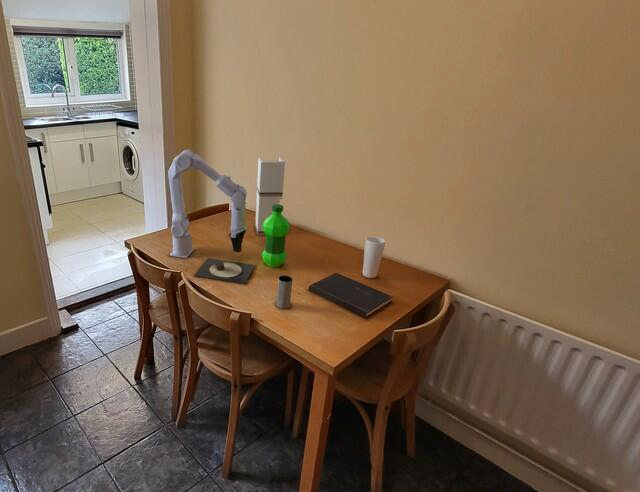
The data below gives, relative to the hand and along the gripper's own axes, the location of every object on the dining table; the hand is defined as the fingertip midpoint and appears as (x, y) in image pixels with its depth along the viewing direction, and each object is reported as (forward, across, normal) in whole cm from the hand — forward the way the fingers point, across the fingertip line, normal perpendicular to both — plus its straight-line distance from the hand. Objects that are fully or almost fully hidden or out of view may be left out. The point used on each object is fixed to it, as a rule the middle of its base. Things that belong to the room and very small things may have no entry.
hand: (237, 247), depth 173 cm
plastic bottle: (+5, -2, -16) cm, 17 cm away
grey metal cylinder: (+5, -32, -25) cm, 41 cm away
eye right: (+1, 0, 0) cm, 1 cm away
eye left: (+4, -14, +3) cm, 15 cm away
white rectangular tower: (+5, +34, -6) cm, 35 cm away
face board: (+4, -14, +1) cm, 15 cm away
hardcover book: (+4, -19, -46) cm, 50 cm away
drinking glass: (+4, 0, -53) cm, 53 cm away
